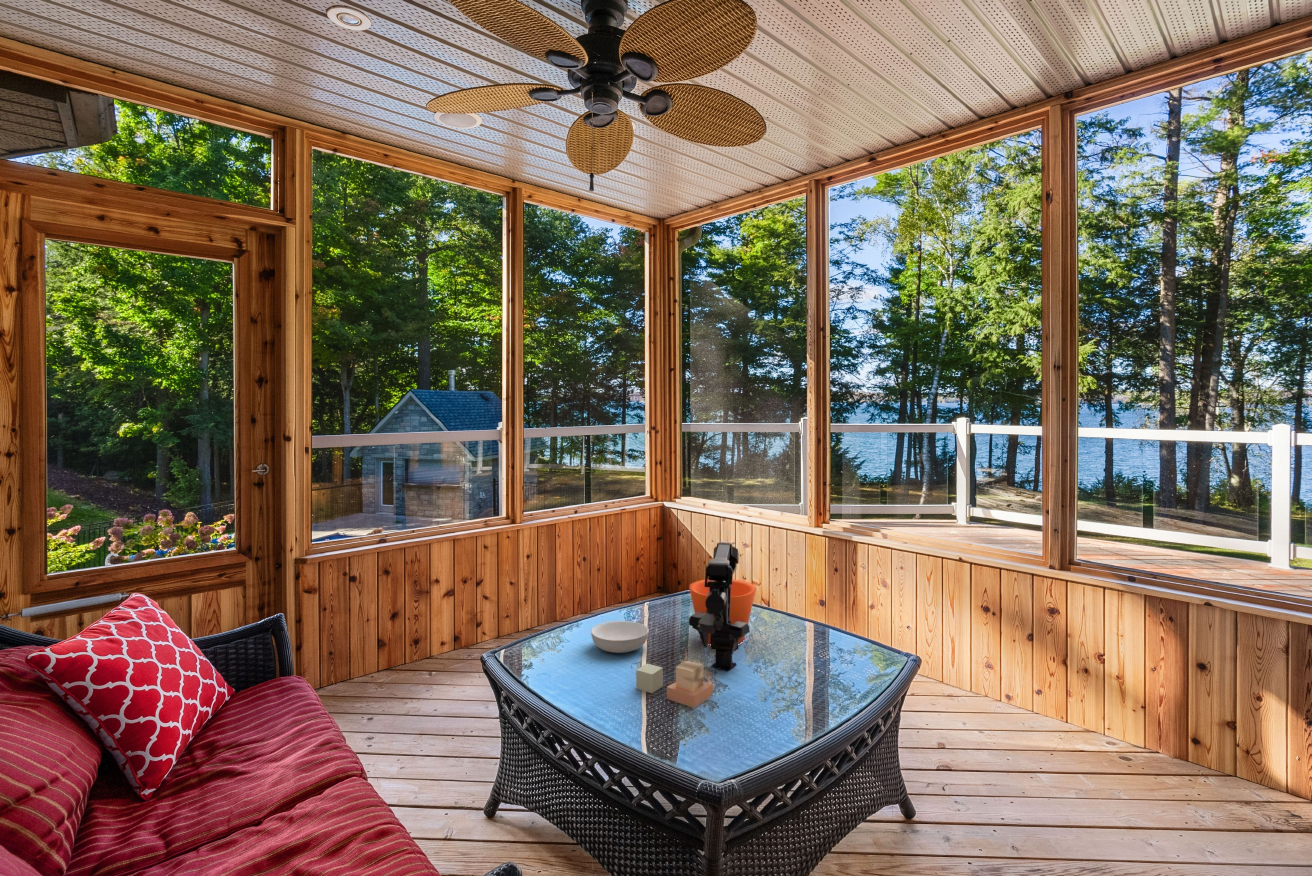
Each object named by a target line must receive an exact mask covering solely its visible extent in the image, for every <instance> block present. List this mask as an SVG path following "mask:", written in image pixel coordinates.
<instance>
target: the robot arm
mask: <svg viewBox="0 0 1312 876" xmlns="http://www.w3.org/2000/svg"><path fill="white" fill-rule="evenodd" d="M739 556H740V555H739V549H738V548H736V547H735V546H733V543H732V542H727V541H725V542H723V541H719V542H716V546H715V547H714V548H713V556H712V557H713V558H712V559H710V560H709V561H708V564H706V567H705V573H704V575H705V576H704V577H705V578H704V579H705V587H709V593H708V596H707V598H706V601H705V605H706V608H707V612H706V614H705V613H700V612H697V613H695V612H694V614H692V615H690V616H689V617H688V625H689V626H691V627H692V629H694V630H696V631H697V632H698V634H699V637H701V638H700V640H702V641H701V643H702V645H703V648H704V649H707V648H708V646H709V645H708V634H709V633H710V634H711V635H710V643H711V646H710V650H711V651H712V650H714V655H715V656H714V658H715V659H714V662H713V664H711V668H715V669H718V670H722V671H726V672H729V671H730V670H732V669H733V668H734V667H736V666H737V663H736V662H733V654H734V653H735V652H736V651H738V650H739V645H738V641H739V639H740V638H741V637H743V636H744V635H745V636H746V635H747V634H749V633H750V626H749V623H748V624H747V623H744V622H740V621H737V622H735V623H734V624H732V623H731V621H730V611H731V585H732V580H733V579H734V577H733V576H734V573H735V572H736V570H737V567H738V565H737V564H739V561H740V558H739ZM708 580H712V581H708ZM707 582H708V583H707Z"/></svg>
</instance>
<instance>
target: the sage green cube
mask: <svg viewBox="0 0 1312 876" xmlns="http://www.w3.org/2000/svg"><path fill="white" fill-rule="evenodd" d="M635 671H636V672H635V680H636V681H635V684H636V685H635V689H637V690H640V691H644V692H646V693H650V694H654V693H655V692H657V691H658V690H660V689H661V688H662V687H664V672H663V671H664V668H663V667H662V666H657V665H655V664H650V663H646V664H643V665H642V666H640V667H639V668H637V669H635Z"/></svg>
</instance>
